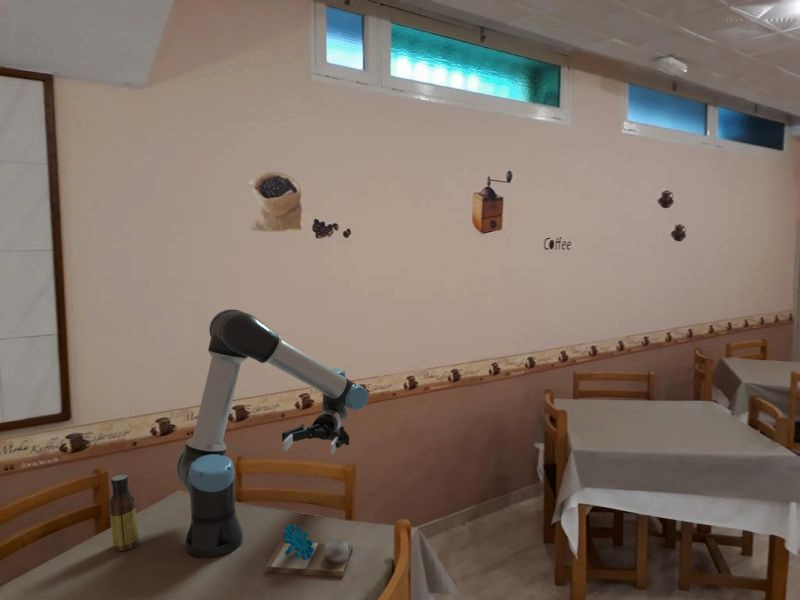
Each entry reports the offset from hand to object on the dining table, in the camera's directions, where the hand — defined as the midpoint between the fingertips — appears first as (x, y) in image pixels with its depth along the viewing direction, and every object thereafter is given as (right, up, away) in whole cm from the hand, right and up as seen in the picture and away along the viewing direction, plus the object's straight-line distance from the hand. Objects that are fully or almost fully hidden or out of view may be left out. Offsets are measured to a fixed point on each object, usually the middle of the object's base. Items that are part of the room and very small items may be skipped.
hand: (307, 447), depth 156 cm
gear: (0, -25, -10) cm, 27 cm away
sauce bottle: (-50, -27, -2) cm, 57 cm away
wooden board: (+2, -27, -10) cm, 29 cm away
